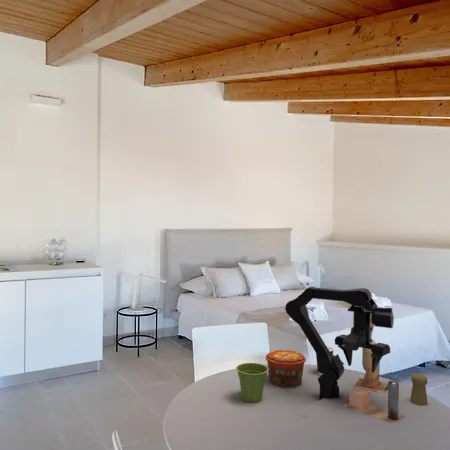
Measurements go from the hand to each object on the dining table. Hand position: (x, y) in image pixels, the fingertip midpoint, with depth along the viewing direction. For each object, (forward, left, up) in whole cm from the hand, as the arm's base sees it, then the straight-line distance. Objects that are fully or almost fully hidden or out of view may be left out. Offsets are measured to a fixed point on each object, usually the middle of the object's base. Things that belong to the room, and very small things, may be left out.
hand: (361, 368), depth 156 cm
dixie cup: (-13, +29, -13) cm, 35 cm away
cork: (+20, +5, -13) cm, 24 cm away
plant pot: (-38, -4, -13) cm, 41 cm away
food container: (-28, +16, -13) cm, 35 cm away
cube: (-1, -4, -12) cm, 12 cm away
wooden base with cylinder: (+4, -7, -13) cm, 15 cm away
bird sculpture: (+5, +16, -13) cm, 21 cm away
